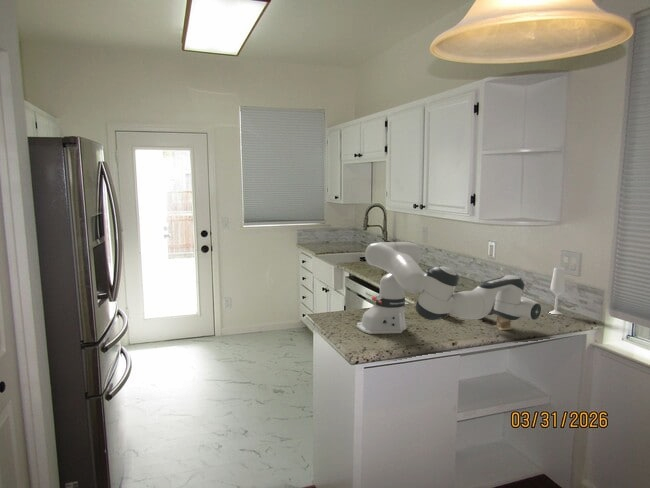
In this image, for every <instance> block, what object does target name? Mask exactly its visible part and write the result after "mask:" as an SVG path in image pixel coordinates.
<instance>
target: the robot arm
mask: <svg viewBox="0 0 650 488" xmlns="http://www.w3.org/2000/svg"><path fill="white" fill-rule="evenodd" d="M364 256H365V257H364V258H365V261H366V263H368V265H369V266H372V267H376V268H378V269H381V270H383V271H385V272H387V273H386V274H384V275H383V276H382V277H381V278H380V280H379V281H380V282H379V295H378V297H376V296H373V295H372V297H371V300H372V301H373V302H375V304H374V305H372V306H371V307H370V308H369V309H367V310H366V311H365V312H363V314H362V318H361V321H358V322H357V324H356V327H357V329H358V330H359V331H360V332H363V333H366V334H369V335H375V334H376V335H379V334H402V333H403V332H404V331H405V330H406V329H407V324H406V319H405V318H406V317H405V307H406V297H405V292H407V293H409V294H413V295H414V294H418V293H420V294H419V297H418V300H416V304H415V310H416V312H417V314H418V315H419V316H421V317H422V318H424V319H425V320H428V321H437V320H440V319H445V318H447V317H448V316H447V313H450V314H451V315H453V316H455V317H456V318H460V319H463V320H479V319H483V318H485V317H487V316H489V315H488V314H489V313H490V311H491V309H492V306H494V311H495V312H496V314H497V315H498V316H500V317H503V318H505V319H508V320H511V321H516V320H519V319H521V318H522V319H527V320H531V321H535V320H537V319H539V317H540V316H541V313H542V306H541V304H540V303H539V302H537V301H536V300H534V299H531V298H529V297H526V294H525V293H523V292H524V288H525V283H524V281H523V279H522V278H521V277H519V276H517V275H515V274H513V275H512V274H505V275H502V276H501V277H496V278H494V279H493V278H492V279H489V280H486V281H485V280H484V281H485V282H482V283H481V282H480V283H479V284H478V286H476V287H475V288H473V289H472V290H464V291H463V290H462V291H459V292H455V290H456V287H457V286H458V283H459V279H460V278H459V277H460V276H459V275H458V273H457V271H455V270H453V268H451V267H448V266H444V265H437V266H434V267H433V266H432V267H429V268H427V269H426V272H425V271H423V270H422V268H421V267H420V266H419V263H420V262H421V260H422V257H423V251H422V248H421V246H419V244H417V243H413V242H409V241H392V242H391V241H390V242H389V241H388V242H386V241H385V242H383V241H381V242H380V241H379V242H373V243H369V244H368V246H367V247H366V248H365V252H364ZM497 315H496V316H497Z"/></svg>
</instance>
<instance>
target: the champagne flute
mask: <svg viewBox="0 0 650 488" xmlns="http://www.w3.org/2000/svg"><path fill="white" fill-rule="evenodd" d="M565 270H566V269H565V268H564V267H560V266H559V267H554V268H553V272H552V273H553V274H552V278H551V282H550V288H549V290H550V292H551V293H552V294H553V295H555V297H554V298H555V299H554V307H553V308H554V309H553V310H551V311H549V313H551V314H562V313H561V312H560V311H559V310H558V304H559V303H558V301H559V296H561V295H562V294H564V292H565V291H566V282H565V281H566V280H565V279H566V278H565V277H566V275H565V273H566V272H565ZM549 313H548V314H549ZM551 314H550V315H551Z"/></svg>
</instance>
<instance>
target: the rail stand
mask: <svg viewBox="0 0 650 488" xmlns="http://www.w3.org/2000/svg"><path fill="white" fill-rule="evenodd" d="M490 313H493V315H496V318H497V319H496V324H495V325H493V326H492V327H493V328H494V329H497V330H498V331H508V330H509V331H511V330H514V327H513V326H512V325H511V321H512V320H508V319H505V318H503V317H500V316H498V315H497V314H496V312H495V311H494V309H493V308H492V309H491V311H490Z"/></svg>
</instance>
